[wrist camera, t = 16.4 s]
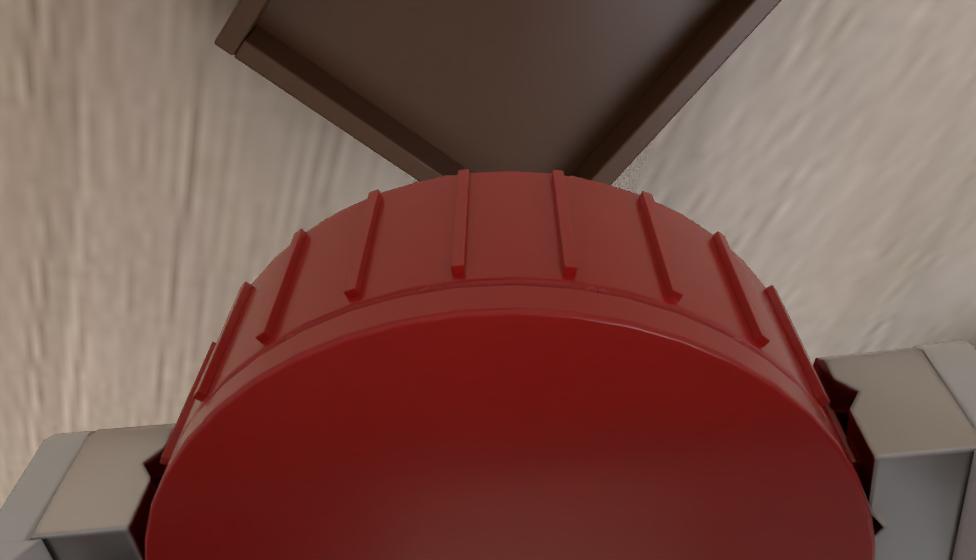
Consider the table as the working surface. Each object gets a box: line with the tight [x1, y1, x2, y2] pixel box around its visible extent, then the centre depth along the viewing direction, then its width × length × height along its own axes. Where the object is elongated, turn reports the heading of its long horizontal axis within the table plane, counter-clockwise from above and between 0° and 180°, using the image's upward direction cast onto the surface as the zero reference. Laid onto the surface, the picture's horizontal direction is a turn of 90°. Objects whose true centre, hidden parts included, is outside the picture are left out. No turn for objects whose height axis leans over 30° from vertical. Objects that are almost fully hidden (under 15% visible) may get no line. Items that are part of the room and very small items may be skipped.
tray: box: [215, 0, 781, 185], centre depth 25 cm, size 11×10×2 cm
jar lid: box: [145, 169, 876, 560], centre depth 10 cm, size 7×7×2 cm
